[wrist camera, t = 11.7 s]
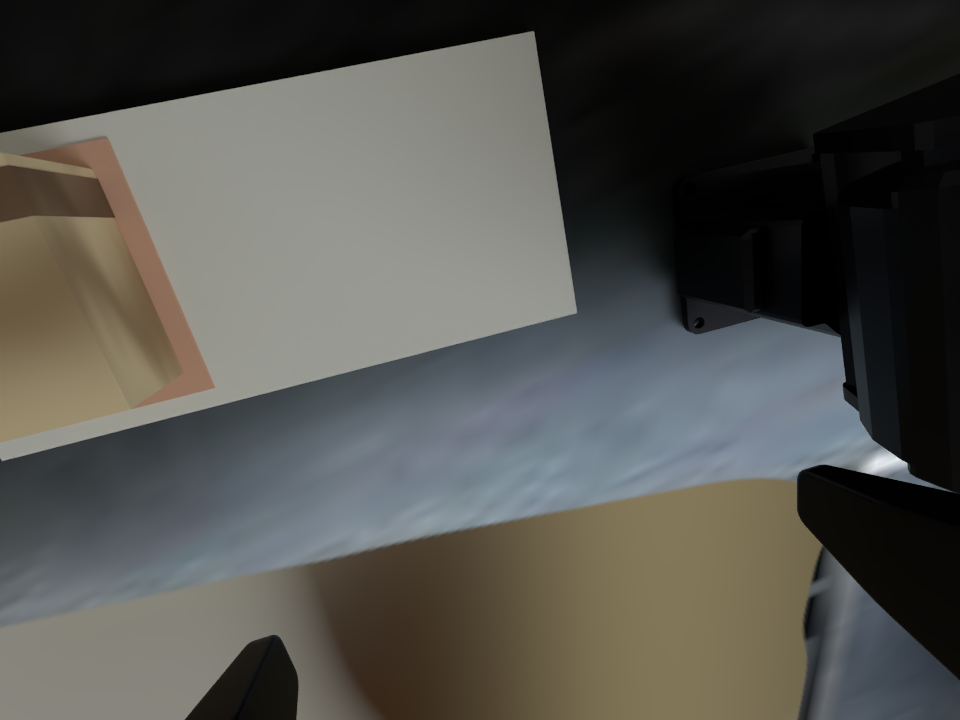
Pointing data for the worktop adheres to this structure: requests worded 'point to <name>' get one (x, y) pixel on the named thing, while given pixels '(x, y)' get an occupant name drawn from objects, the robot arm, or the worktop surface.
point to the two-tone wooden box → (70, 304)
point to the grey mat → (327, 219)
